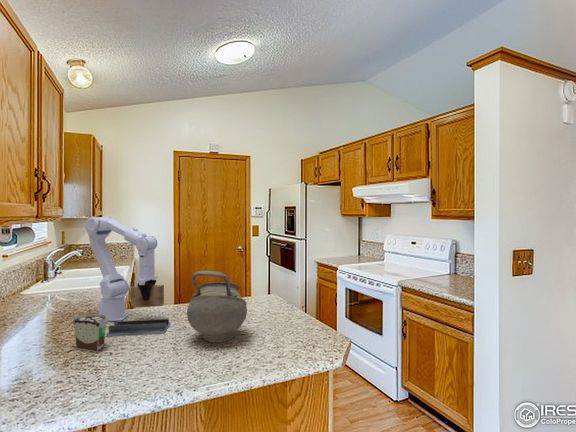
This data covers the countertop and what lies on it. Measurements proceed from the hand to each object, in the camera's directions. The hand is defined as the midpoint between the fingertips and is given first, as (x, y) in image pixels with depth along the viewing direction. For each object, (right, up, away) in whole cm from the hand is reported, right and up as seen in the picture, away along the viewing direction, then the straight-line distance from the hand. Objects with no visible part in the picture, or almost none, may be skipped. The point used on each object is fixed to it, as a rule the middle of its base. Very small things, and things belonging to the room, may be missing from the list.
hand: (147, 299), depth 134 cm
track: (+1, -9, -10) cm, 14 cm away
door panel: (0, -3, 0) cm, 3 cm away
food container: (-7, -10, -25) cm, 28 cm away
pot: (+33, -9, -19) cm, 39 cm away
